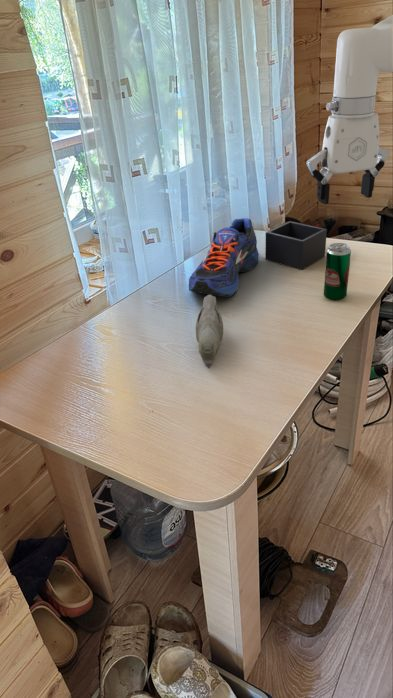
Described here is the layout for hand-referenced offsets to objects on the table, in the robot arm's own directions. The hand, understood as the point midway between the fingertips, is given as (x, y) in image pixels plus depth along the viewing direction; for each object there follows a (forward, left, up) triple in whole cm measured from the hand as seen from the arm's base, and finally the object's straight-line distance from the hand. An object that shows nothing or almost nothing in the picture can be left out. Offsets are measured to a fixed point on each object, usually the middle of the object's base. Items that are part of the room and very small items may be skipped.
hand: (344, 199), depth 104 cm
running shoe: (+27, +8, -23) cm, 36 cm away
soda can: (0, 0, -23) cm, 23 cm away
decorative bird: (+8, +33, -23) cm, 41 cm away
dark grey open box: (+20, -13, -22) cm, 33 cm away
